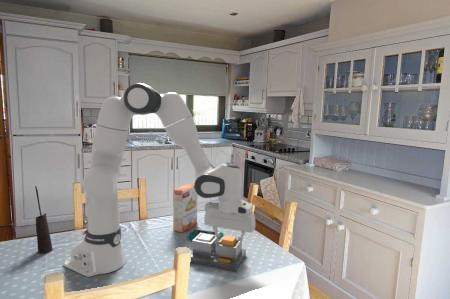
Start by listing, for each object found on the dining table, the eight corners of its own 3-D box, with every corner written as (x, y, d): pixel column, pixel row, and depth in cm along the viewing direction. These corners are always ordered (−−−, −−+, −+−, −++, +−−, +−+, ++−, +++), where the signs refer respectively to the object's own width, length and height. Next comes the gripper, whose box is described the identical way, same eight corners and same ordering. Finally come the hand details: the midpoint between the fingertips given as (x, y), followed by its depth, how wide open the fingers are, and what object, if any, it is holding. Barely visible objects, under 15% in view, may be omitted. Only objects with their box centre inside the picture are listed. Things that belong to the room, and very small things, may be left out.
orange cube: (221, 249, 121) (221, 239, 120) (225, 244, 125) (225, 234, 125) (232, 251, 120) (232, 241, 119) (236, 246, 124) (236, 236, 123)
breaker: (197, 245, 124) (197, 238, 124) (202, 240, 129) (202, 233, 129) (209, 247, 123) (209, 240, 122) (213, 242, 127) (213, 235, 127)
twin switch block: (186, 262, 122) (186, 243, 121) (201, 246, 135) (201, 229, 134) (235, 272, 115) (236, 252, 114) (245, 255, 128) (246, 237, 127)
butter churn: (48, 242, 136) (43, 180, 132) (64, 246, 132) (60, 182, 128) (28, 252, 127) (22, 185, 123) (45, 256, 124) (40, 188, 120)
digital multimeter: (192, 234, 149) (192, 228, 148) (224, 238, 145) (224, 231, 145) (187, 240, 142) (187, 234, 141) (219, 245, 138) (219, 238, 137)
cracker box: (183, 233, 148) (183, 190, 145) (172, 231, 151) (172, 189, 148) (198, 223, 161) (198, 184, 158) (188, 221, 163) (188, 182, 160)
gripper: (201, 203, 120) (201, 237, 122) (253, 210, 114) (251, 246, 116) (208, 199, 126) (207, 231, 128) (257, 205, 120) (255, 239, 122)
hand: (228, 238), depth 122 cm, fingers open, 8 cm apart
